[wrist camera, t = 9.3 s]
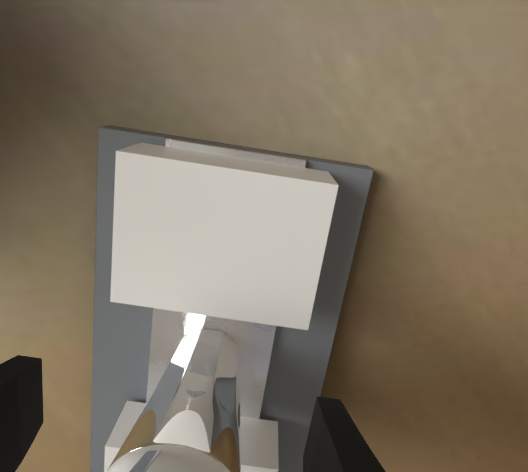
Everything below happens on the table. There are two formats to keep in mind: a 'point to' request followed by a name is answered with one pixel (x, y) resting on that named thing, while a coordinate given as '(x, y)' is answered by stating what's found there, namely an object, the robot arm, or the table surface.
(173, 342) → the rail
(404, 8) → the table surface
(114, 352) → the rail board
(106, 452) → the block
